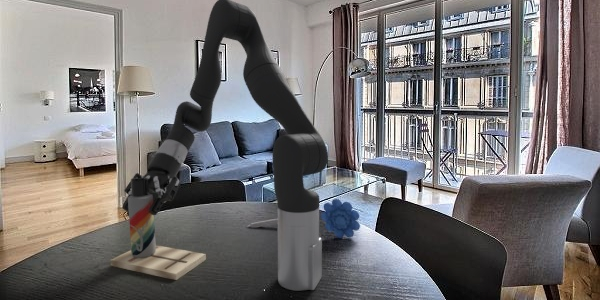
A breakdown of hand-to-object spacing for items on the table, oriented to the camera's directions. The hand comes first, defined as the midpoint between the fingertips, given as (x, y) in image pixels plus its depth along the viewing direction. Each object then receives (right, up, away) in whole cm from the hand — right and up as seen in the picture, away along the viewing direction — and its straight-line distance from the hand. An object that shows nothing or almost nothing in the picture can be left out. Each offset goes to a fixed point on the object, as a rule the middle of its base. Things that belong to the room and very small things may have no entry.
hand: (138, 211), depth 85 cm
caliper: (+33, -10, +26) cm, 43 cm away
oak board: (+5, -13, +1) cm, 14 cm away
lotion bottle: (0, -11, +2) cm, 11 cm away
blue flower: (+52, -11, +16) cm, 56 cm away
